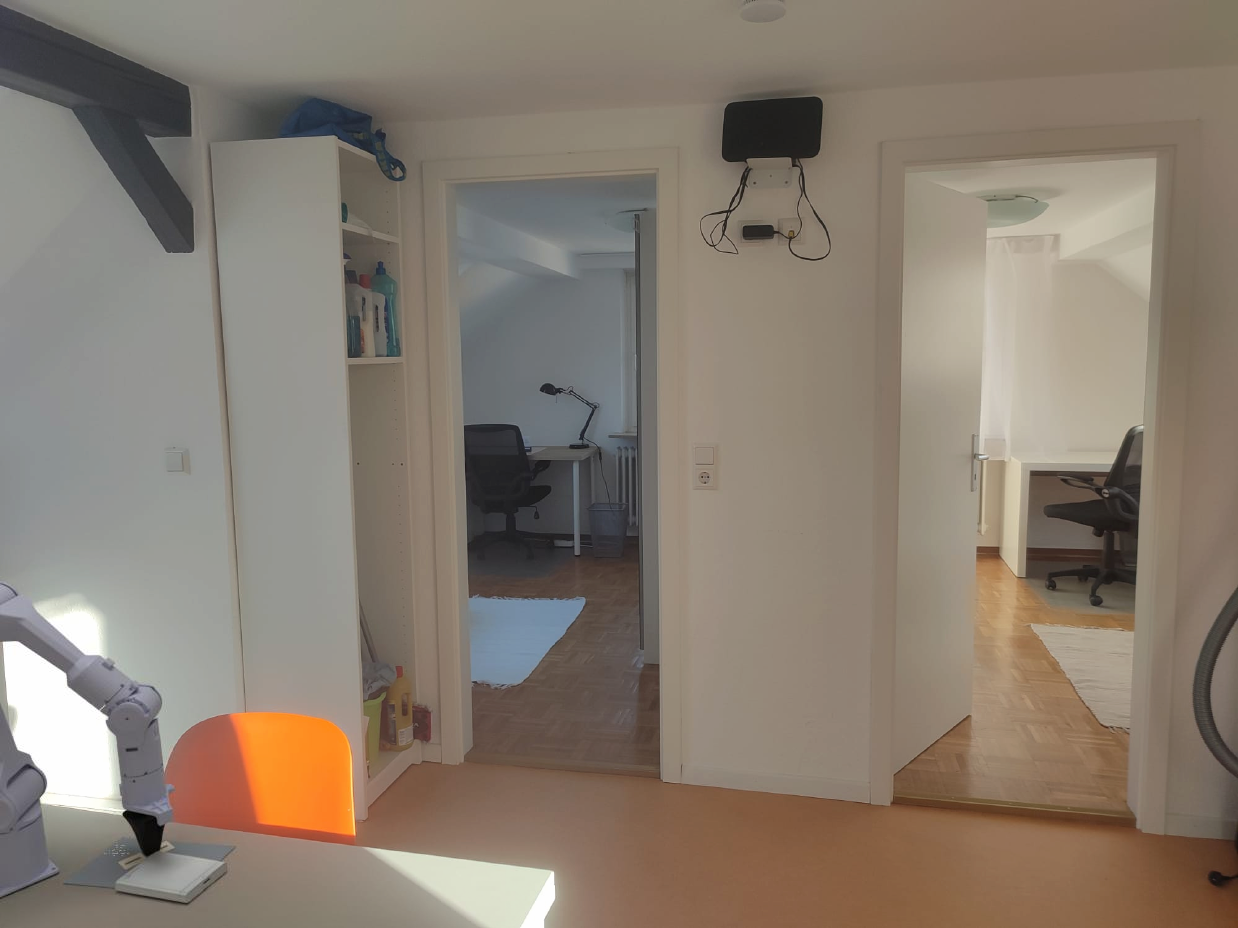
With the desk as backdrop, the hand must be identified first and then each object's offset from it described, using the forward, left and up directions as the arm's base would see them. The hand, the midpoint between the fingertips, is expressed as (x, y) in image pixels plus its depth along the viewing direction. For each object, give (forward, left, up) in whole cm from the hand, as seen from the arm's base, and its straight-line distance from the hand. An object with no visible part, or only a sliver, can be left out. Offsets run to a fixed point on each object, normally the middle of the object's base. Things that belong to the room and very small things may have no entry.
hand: (151, 852), depth 134 cm
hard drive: (+8, 0, -2) cm, 8 cm away
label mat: (+1, 0, -1) cm, 2 cm away
